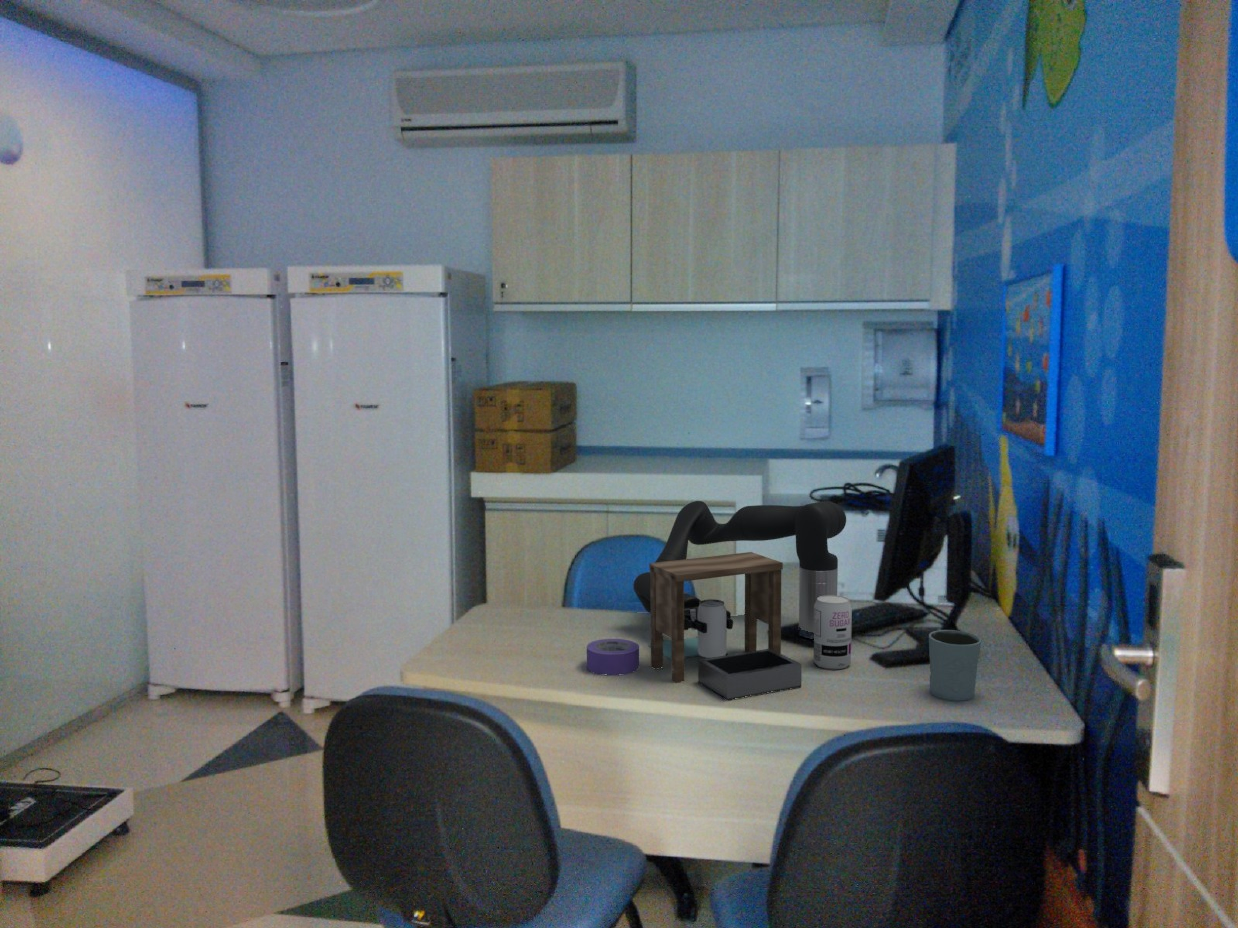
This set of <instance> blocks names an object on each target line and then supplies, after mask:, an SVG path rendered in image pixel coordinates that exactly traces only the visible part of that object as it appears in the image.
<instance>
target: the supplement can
mask: <svg viewBox="0 0 1238 928" xmlns="http://www.w3.org/2000/svg"><path fill="white" fill-rule="evenodd" d="M852 609H853V606H852V604H851V602H850V599H849V598H848V597H846V596H843V595H842V596H841V595H837V596H835V595H827V596H820V597H818V598H817V601H816V602H815V604H814V640H813V662H814V664H815V665H817V667H819V668H822V669H826V670H842V669H846V668H847V667H849V665H851V663H852V662H851V661H852V658H851V657H852V613H853V610H852Z"/></svg>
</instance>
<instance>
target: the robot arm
mask: <svg viewBox="0 0 1238 928" xmlns="http://www.w3.org/2000/svg"><path fill="white" fill-rule="evenodd" d="M846 524H847V515H846V513H845V511H844V509H843V508H842V507H841V506H840V505H839V504H837V503H835V502H833V501H829V500H823V501H819V502H818V501H817V502H812V503H807V504H805V505H796V506H795V505H782V504H781V505H780V504H779V505H778V504H776V505H775V504H774V505H773V504H760V505H759V504H758V505H757V504H756V505H747V506H744V507H741V508H740V509H738V510H737V511H736V512H735V513H734V514H733V515H732V516H731V518H730V519H729V520H728V521H727V522H726V523H720V522H718V521H716V519H715V517H714V516H713V513H712V512H711V510H710V508H709V506H708V505H707V504H706V503H705V502H704V501H702V500H694V501H691V502H689V503H688V504H685V505H684V506H683V507H682V508H681V509H680V510H679V512H678V514H677V515H676V518H675V521H674V523H673V526H672V528H671V529H670V532H669V535H668V539H667V541H666V543H665V546H664V547H663V549H662V550H661V553H660V554H659V555H658V556H657V558H656V560H655V561H654V563H657V562H666V561H675V560H684V559H688V558H687V557H688V546H689V542H690V543H691V544H693V545H696V546H703V545H711V544H718V543H727V542H741V541H743V542H744V541H748V542H749V541H750V542H762V541H763V542H764V541H773V540H778V539H779V540H780V539H785V538H789V537H794V536H795V550H796V555H797V558H798V562H799V563H798V565H799V567H798V568H799V569H798V571H799V574H798V575H799V577H798V580H799V581H798V588H799V589H798V628H799V627H800V628H801V630H805V631H808V632H813V633H814V604H815V602H816V601H817V598H818V597H820V596H827V595H835V596H838V581H839V580H838V576H839V572H838V570H839V569H838V568H839V567H838V565H839V564H838V563H839V561H838V560H839V559H838V557H837V555H836V554H834V553H831V552H830V551H829V548H828V540H829V539H832V538H834V537H837V536H838V535H839V534H841V533H842V532H843V530H844V529H845V527H846ZM632 585H633V586H632V588H633V590H634V593H635V595H636V596H637V598H638V600H639V602H640V603H641V605H642V607H643V608H644V610H645V611H646V612H647V613H648V614H649V613H650V614H651V591H650V571H649V572H648V571H647V572H643V573H640V574H638V575H637V577H636V578H635V579H634V581H633V584H632ZM700 601H702V600H701V599H700V598H698V597H696V596H694V595H692V594H690V593H688V592H685V591H684V631H688V630H689V629H691V630H692V631H696V630H697V632H698V631H700V632H702V633H707V624H706V623H703V622H700V621H698V620H697V611H698V607H699V605H700V604H699V602H700ZM731 614H732V613H731V611H729V610H727V609H726V630H733V626H734V621H733V619H732V617H731Z"/></svg>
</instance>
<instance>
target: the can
mask: <svg viewBox="0 0 1238 928" xmlns="http://www.w3.org/2000/svg"><path fill="white" fill-rule="evenodd" d="M699 604H700V605H699V607H698V611H697V620H698V621H700V622H703V623H706V624H707V633H702V632H700V631H698V630H697V637H698V654H699V655H700V657H701V658H703V659H707V658H713V657H720V656H726V654H727V628H726V610H727V608H726V606H725V601H723V600H720V599H716V598H715V599H712V598H711V599H703V600H701V601H700V602H699Z"/></svg>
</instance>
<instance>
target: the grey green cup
mask: <svg viewBox="0 0 1238 928" xmlns="http://www.w3.org/2000/svg"><path fill="white" fill-rule="evenodd" d="M981 644H982V640H981V638H980V637H979V636H978V635H976V634H975V633H970V632H968V631H962V630H953V629H951V630H950V629H939V630H934V631H931V632H930V633H929V634H928V647H929V649H928V650H929V652H928V653H929V654H928V655H929V656H928V657H929V670H930V671H929V672H930V674H929V691H930V694H931V695H932V696H934V697H936V698H939V699H942V700H947V701H954V702H956V701H957V702H959V701H960V702H961V701H968V700H972V699H973V698H974V697H975V691H976V683H977V681H976V679H977V674H978V673H977V672H978V663H979V659H980V657H979V656H980V653H981V646H982V645H981Z"/></svg>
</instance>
